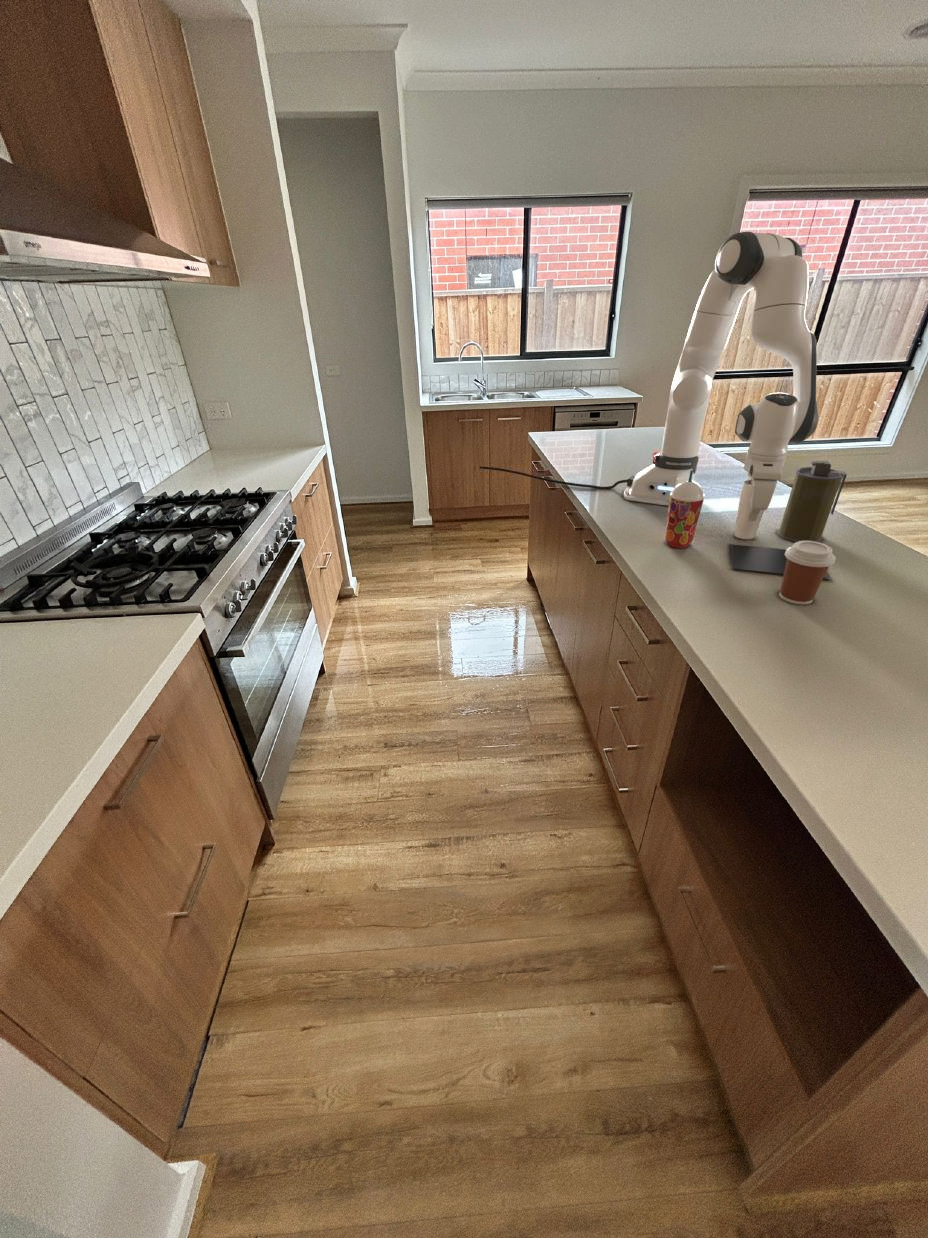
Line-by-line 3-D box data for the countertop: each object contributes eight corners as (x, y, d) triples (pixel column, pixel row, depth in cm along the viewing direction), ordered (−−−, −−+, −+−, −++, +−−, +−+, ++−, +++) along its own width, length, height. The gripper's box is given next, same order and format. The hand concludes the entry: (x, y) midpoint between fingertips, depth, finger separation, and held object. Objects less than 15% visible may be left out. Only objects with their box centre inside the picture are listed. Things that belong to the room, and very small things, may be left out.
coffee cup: (764, 587, 117) (779, 538, 110) (805, 586, 116) (823, 537, 110) (784, 608, 109) (801, 556, 103) (828, 607, 108) (848, 555, 102)
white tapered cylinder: (725, 532, 144) (738, 479, 136) (749, 530, 144) (763, 478, 136) (738, 542, 138) (752, 487, 130) (763, 540, 138) (778, 485, 130)
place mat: (733, 569, 125) (733, 568, 124) (729, 545, 136) (730, 544, 136) (828, 580, 118) (828, 578, 118) (816, 553, 130) (816, 552, 130)
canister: (780, 541, 137) (803, 466, 127) (775, 527, 145) (796, 455, 135) (827, 545, 134) (854, 469, 123) (819, 530, 142) (844, 457, 131)
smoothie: (693, 539, 141) (709, 466, 130) (694, 551, 134) (710, 476, 124) (661, 536, 143) (674, 465, 133) (661, 548, 137) (674, 474, 126)
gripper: (747, 452, 139) (735, 501, 147) (754, 473, 123) (740, 527, 131) (773, 453, 137) (760, 503, 145) (783, 475, 121) (768, 529, 129)
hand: (750, 515), depth 138 cm, fingers closed on white tapered cylinder, 6 cm apart
